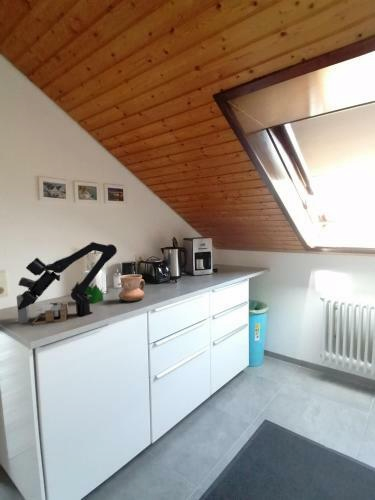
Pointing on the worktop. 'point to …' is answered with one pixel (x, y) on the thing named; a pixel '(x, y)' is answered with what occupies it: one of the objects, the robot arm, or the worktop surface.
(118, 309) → the worktop surface
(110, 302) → the worktop surface
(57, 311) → the trapdoor
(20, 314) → the basalt block
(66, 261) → the robot arm
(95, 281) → the milk carton
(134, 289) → the ceramic jug
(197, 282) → the worktop surface
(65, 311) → the frame
